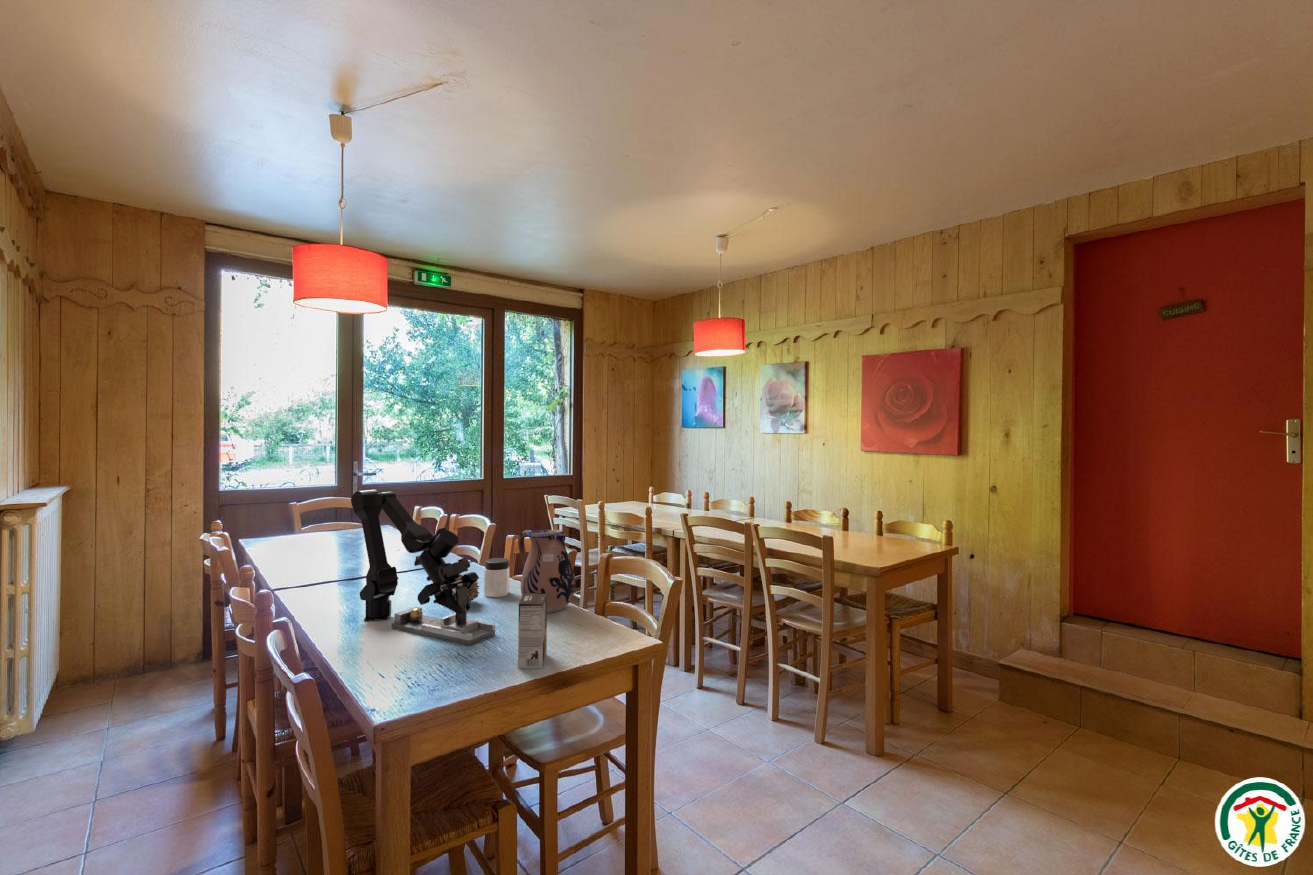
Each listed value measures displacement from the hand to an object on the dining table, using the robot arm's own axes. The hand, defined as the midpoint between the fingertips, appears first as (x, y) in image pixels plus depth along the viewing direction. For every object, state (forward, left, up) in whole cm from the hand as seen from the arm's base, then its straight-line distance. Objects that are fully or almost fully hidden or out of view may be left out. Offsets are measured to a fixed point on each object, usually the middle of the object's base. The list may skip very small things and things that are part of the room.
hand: (464, 611), depth 171 cm
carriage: (-2, +1, -5) cm, 6 cm away
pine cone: (-5, +37, -7) cm, 38 cm away
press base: (-6, +5, -7) cm, 11 cm away
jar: (+8, +43, -7) cm, 44 cm away
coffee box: (+18, -22, -7) cm, 30 cm away
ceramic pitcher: (+23, +23, -7) cm, 33 cm away
